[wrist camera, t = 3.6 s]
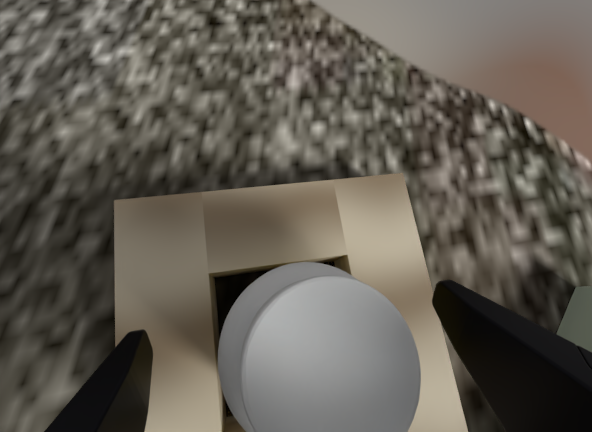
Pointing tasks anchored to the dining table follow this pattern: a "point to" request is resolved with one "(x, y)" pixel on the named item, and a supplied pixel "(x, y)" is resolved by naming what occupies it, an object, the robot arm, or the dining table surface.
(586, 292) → the tray
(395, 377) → the supplement bottle
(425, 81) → the dining table surface
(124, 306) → the socket block
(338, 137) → the dining table surface
